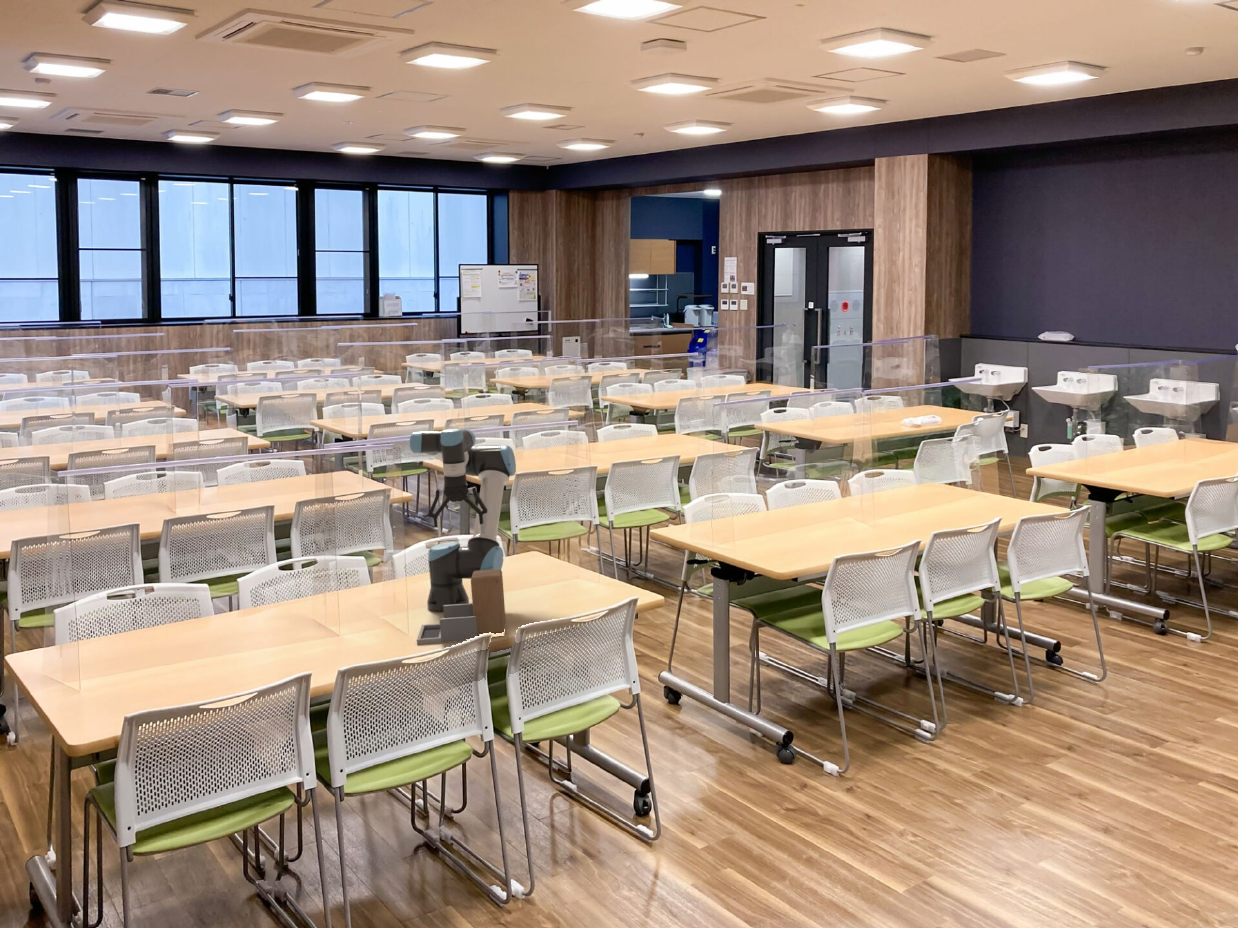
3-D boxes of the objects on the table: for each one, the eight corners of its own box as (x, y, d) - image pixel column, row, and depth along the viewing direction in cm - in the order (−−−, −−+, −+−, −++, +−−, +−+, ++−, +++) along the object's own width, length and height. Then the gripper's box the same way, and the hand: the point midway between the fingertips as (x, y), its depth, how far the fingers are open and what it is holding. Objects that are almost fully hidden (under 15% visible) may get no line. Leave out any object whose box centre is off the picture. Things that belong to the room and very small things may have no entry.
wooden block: (504, 633, 394) (500, 576, 390) (474, 635, 394) (470, 578, 390) (506, 624, 404) (502, 568, 400) (477, 625, 403) (472, 569, 400)
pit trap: (422, 628, 404) (421, 624, 404) (445, 627, 405) (445, 623, 404) (417, 644, 389) (416, 639, 388) (441, 642, 389) (441, 638, 389)
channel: (445, 627, 405) (443, 605, 403) (480, 624, 405) (478, 602, 404) (441, 642, 389) (439, 619, 388) (477, 639, 390) (475, 616, 388)
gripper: (416, 479, 394) (422, 539, 398) (491, 474, 396) (495, 534, 400) (419, 474, 402) (424, 534, 406) (491, 470, 403) (496, 529, 407)
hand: (459, 534), depth 403 cm, fingers open, 13 cm apart
